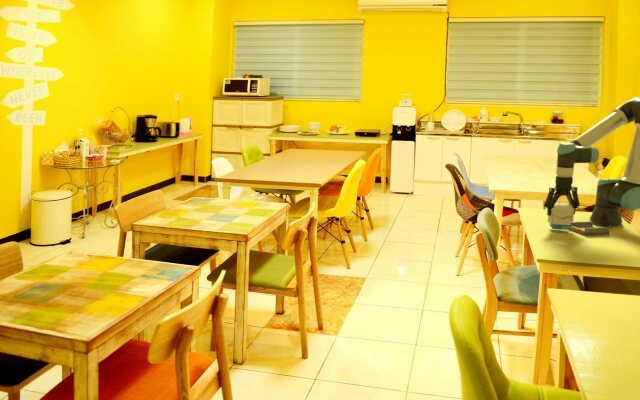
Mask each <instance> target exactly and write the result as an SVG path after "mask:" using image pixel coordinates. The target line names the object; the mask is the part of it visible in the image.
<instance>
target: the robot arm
mask: <svg viewBox="0 0 640 400" xmlns="http://www.w3.org/2000/svg"><path fill="white" fill-rule="evenodd" d="M632 122H634V123H633V124H634V126H635V128H636V129H635V132H634V135H633V136H634V137H633V140H632V144H631V147H630V151H629V155H628V158H627V163H626V166H625V169H624V173H623V176H622V177H620V178H600V179H598V181H597V185H596V192H595V195H596V197H595V205H594V208H593V211H592V213H591V215H590V217H589V221H592V222H593V224H594V225H599V226H603V227H621V226H622V225H623V218H622V214H621V208H622V209H624V210H627V211H628V210H629V211H636V210H639V209H640V96H639V97H638V96H637V97H633V98H631V99H629V100H626V101H625V102H623V103H621V104H620V105H618V106H617V107H615V108H613V110H612V113H611V114H609V115H608V116H606V117H604V118H603V119H602V120H600V121H599V122H597V123H596V124H594V125H592V127H590V128H588V129H587V130H585V131H584V132H583V133H581V134H580V135H579V136H577V137H576V138H574V139H573V140H571V141H569V142H561V143H559V144H558V147H557V150H556V153H557V159H556V162H557V163H556V170H555V171H556V173H555V174H556V176H555V187H551V186H550V187H549V188H548V194H547V196H546V199H545V202H544V205H543V207H544V208H546V209H547V211H546V215H547V223H549V224H550V223H553V212H554V209H552V208H553V206H554V205H555V203H556V202H558V201H559V198H561V197H563V196H565V197H566V199H567V201H568V203H570V204H571V205H572V207H573V208H572V219H571V222H574V216H575V214H576V210H577V208H578V207H580V206H581V204H580V200H579V196H578V195H579V194H578V186H574V185H573V182H574V180H573V179H574V178H573V176H574V168H575V164H594V163H596V162H598V161H599V159H600V151H599V149H598V148H597V147H594V145H595V144H596V143H599V142H600V141H601V140H602V139H604V138H605V137H607V136H608V135H609V134H611V133H613V132H614V131H616V130H617V129H619V128H620V127H622V126H627V125H628V124H630V123H632ZM592 146H593V147H592Z"/></svg>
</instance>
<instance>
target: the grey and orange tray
mask: <svg viewBox="0 0 640 400" xmlns="http://www.w3.org/2000/svg"><path fill="white" fill-rule="evenodd" d="M570 231H572V232H575V233H577V234H580V235H582V236H586V237H588V236H609V235H610V231H611V226H603V227H602V226H601V227H595V226H593V222H592V221H590V220H589V221H573V222H571V230H570Z"/></svg>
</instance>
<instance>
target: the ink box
mask: <svg viewBox="0 0 640 400" xmlns="http://www.w3.org/2000/svg"><path fill="white" fill-rule="evenodd" d="M572 208H573V207H572V205H571V204H570V203H569V202H559V201H557V202H556V203H555V205H554V206H553V208H552V209H554V212H553V223H550V222H549V226H550V228H551V229H552V230H560V231H561V230H563V231H572V230H571V219H572Z"/></svg>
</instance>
